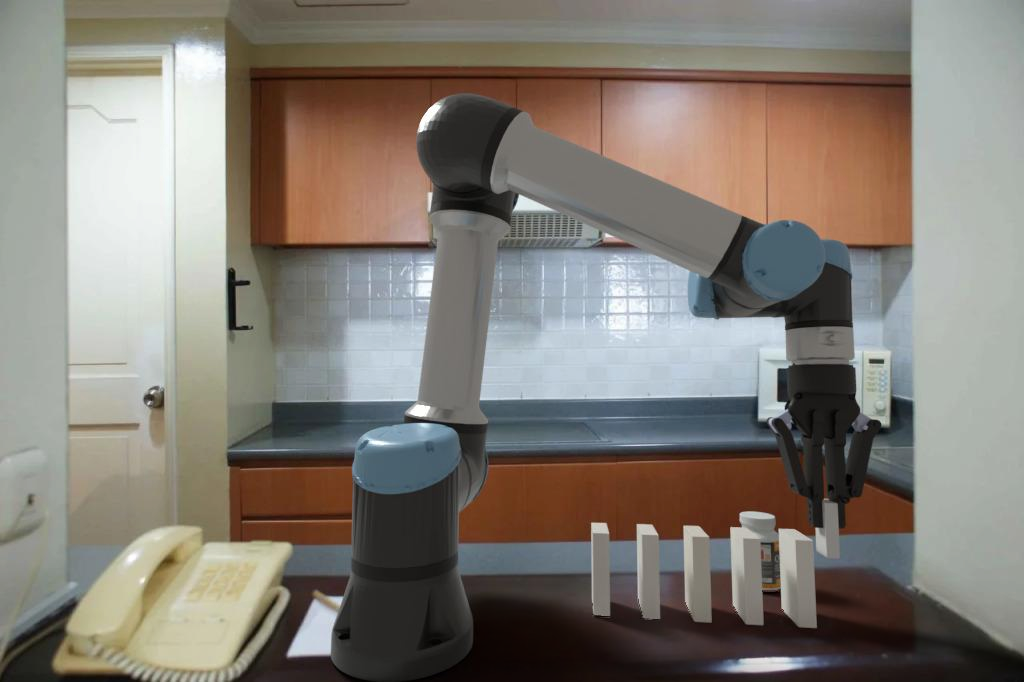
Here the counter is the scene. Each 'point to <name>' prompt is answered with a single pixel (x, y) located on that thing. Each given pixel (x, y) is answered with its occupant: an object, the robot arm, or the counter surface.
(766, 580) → the pill bottle
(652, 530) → the domino
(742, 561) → the domino
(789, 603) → the domino
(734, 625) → the counter surface
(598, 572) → the domino
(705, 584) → the domino
